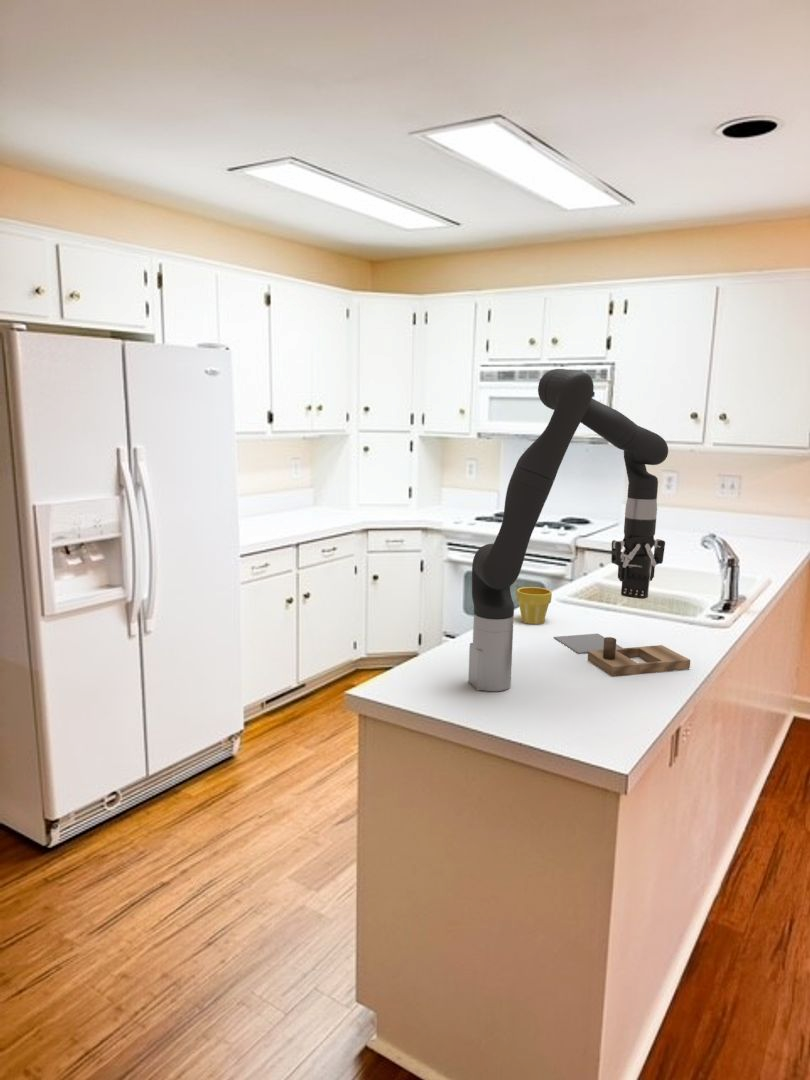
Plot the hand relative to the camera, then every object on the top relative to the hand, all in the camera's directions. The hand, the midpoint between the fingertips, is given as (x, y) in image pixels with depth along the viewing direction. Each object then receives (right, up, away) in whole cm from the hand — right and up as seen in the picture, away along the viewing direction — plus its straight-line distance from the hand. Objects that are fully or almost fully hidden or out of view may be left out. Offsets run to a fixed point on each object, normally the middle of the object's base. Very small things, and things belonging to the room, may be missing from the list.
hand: (635, 580), depth 187 cm
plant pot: (-19, -15, +39) cm, 46 cm away
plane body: (+1, -22, +2) cm, 22 cm away
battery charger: (0, -5, +1) cm, 5 cm away
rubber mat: (-8, -19, +18) cm, 27 cm away
